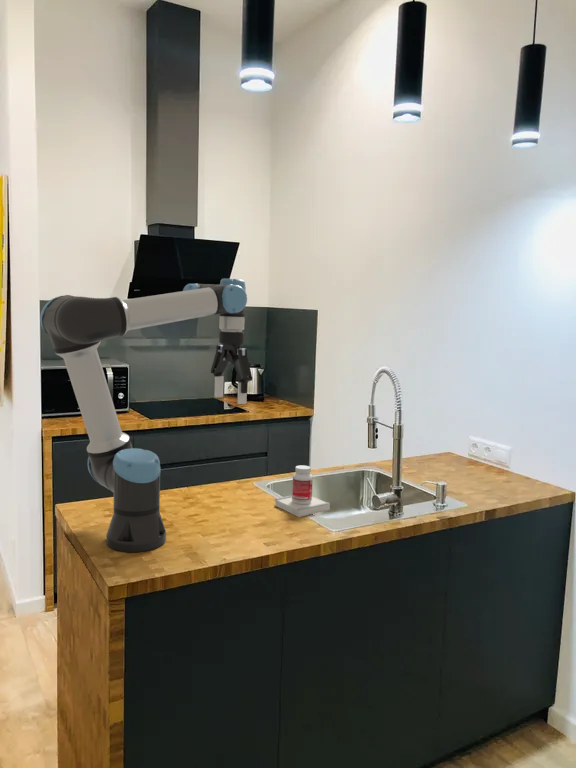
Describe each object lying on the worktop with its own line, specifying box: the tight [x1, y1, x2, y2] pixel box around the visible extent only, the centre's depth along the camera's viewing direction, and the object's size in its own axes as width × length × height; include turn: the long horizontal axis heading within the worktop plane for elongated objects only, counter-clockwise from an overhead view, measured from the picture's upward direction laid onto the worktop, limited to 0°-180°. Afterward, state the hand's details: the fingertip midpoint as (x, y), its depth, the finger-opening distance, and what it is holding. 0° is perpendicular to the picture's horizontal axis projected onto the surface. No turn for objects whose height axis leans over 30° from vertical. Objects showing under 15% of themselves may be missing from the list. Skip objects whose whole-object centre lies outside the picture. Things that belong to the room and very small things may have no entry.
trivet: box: [274, 494, 331, 518], centre depth 197 cm, size 12×12×2 cm
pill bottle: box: [291, 464, 314, 504], centre depth 196 cm, size 6×6×11 cm
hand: (230, 400), depth 194 cm, fingers open, 13 cm apart
